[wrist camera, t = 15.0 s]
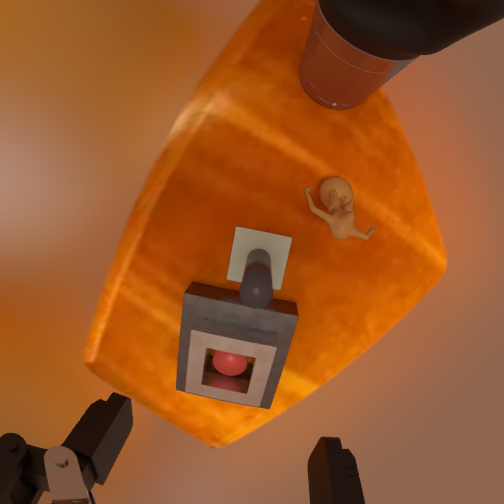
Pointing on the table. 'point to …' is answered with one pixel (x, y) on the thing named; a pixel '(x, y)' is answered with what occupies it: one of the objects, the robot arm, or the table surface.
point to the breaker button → (229, 363)
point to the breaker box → (233, 345)
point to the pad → (259, 240)
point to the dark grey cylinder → (257, 280)
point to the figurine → (337, 208)
